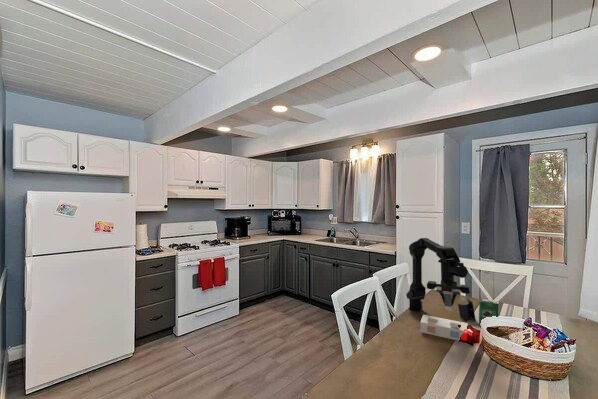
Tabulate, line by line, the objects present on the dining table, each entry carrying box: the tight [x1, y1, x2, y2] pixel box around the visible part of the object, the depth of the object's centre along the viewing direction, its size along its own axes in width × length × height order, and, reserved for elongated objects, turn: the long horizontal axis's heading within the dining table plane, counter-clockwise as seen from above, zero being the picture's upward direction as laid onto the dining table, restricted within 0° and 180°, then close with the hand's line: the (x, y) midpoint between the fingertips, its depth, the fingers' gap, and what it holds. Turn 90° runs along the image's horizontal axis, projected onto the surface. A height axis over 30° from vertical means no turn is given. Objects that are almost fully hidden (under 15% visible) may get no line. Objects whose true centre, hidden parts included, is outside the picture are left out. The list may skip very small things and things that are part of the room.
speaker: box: [457, 298, 477, 322], centre depth 154 cm, size 8×6×10 cm
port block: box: [419, 314, 469, 342], centre depth 137 cm, size 20×10×5 cm, turn 58°
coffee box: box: [478, 299, 499, 325], centre depth 143 cm, size 8×3×13 cm, turn 70°
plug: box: [444, 291, 453, 312], centre depth 139 cm, size 3×3×8 cm
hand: (448, 304), depth 139 cm, fingers closed on plug, 3 cm apart
